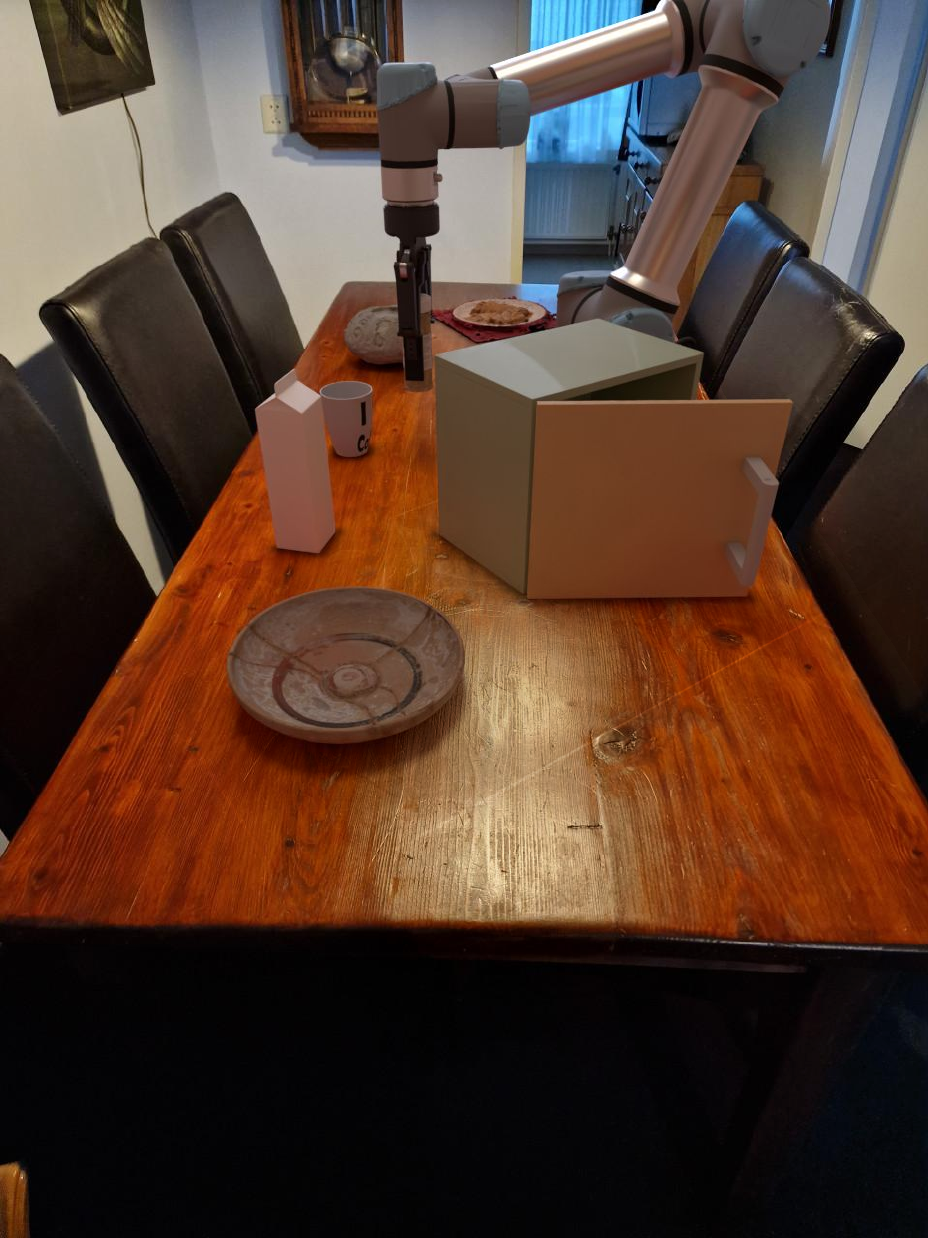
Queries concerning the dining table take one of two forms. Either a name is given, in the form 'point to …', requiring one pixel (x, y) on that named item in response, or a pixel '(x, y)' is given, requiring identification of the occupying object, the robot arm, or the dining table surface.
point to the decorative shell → (375, 335)
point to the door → (652, 496)
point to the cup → (348, 416)
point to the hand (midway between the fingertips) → (418, 374)
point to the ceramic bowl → (346, 664)
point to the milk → (296, 466)
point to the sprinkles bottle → (427, 349)
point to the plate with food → (496, 318)
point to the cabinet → (531, 422)
